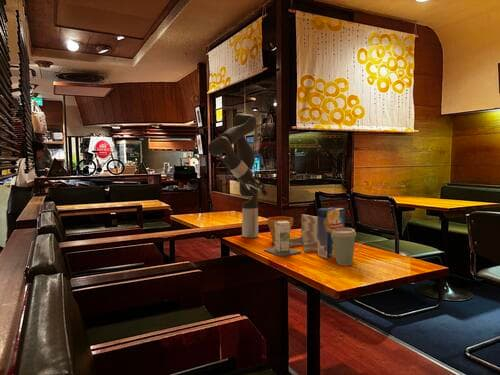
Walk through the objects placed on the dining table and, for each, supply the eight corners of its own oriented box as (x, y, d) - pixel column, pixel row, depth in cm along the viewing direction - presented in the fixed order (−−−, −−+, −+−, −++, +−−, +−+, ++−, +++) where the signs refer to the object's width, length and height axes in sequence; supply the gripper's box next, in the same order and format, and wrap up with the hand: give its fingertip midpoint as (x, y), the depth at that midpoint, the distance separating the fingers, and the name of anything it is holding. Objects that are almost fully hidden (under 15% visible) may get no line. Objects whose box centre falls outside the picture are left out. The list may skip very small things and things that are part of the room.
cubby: (286, 246, 185) (286, 216, 184) (303, 243, 192) (302, 214, 190) (305, 252, 173) (305, 220, 172) (322, 248, 180) (322, 217, 179)
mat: (264, 251, 177) (264, 249, 177) (282, 247, 184) (282, 246, 184) (281, 257, 165) (281, 255, 165) (301, 253, 172) (301, 251, 172)
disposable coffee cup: (352, 268, 146) (352, 232, 145) (327, 264, 152) (327, 230, 151) (359, 262, 155) (359, 228, 154) (335, 259, 161) (335, 226, 160)
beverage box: (344, 254, 168) (344, 208, 166) (327, 258, 162) (327, 210, 160) (334, 251, 174) (334, 207, 172) (317, 255, 168) (317, 209, 166)
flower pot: (264, 239, 203) (264, 217, 202) (287, 237, 207) (287, 215, 206) (272, 245, 189) (272, 221, 188) (297, 243, 193) (297, 219, 192)
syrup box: (284, 248, 178) (284, 220, 177) (290, 251, 173) (290, 221, 172) (274, 249, 176) (274, 220, 175) (280, 252, 170) (279, 222, 169)
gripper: (254, 165, 164) (274, 189, 171) (237, 165, 175) (257, 187, 183) (244, 177, 161) (265, 200, 168) (228, 176, 173) (248, 198, 180)
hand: (261, 193), depth 175 cm, fingers open, 8 cm apart
